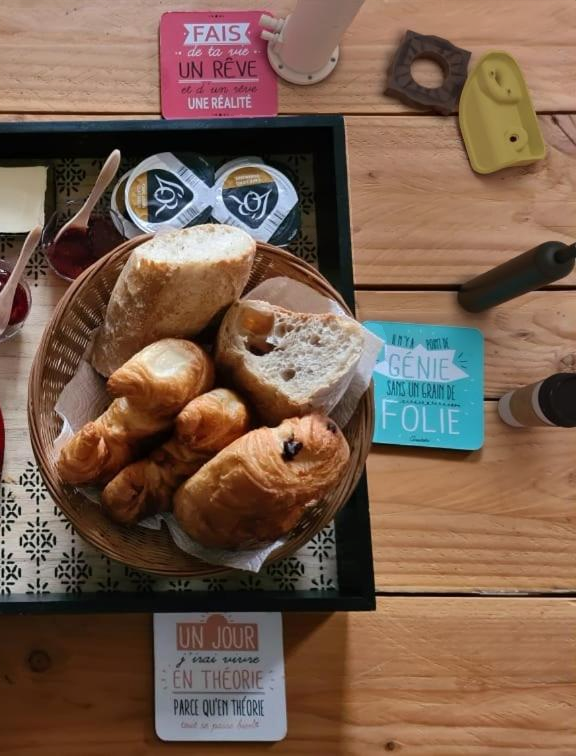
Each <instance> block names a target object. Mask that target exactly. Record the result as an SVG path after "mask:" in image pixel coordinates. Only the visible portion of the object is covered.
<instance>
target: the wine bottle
mask: <svg viewBox="0 0 576 756" xmlns="http://www.w3.org/2000/svg"><path fill="white" fill-rule="evenodd" d="M575 266H576V241H575V242H573V243H571V244H569V245H568V244H566V243H565V242H562V241H559V240H548V241H545V242H542V243H541V244H538V245H536V246H534V247H532V248H530V249H529V250H527V251H524V252H522V253H521V254H518V255H517V256H515V257H513V258H511V259H509V260H507V261H505V262H502V263H501V264H499V265H497V266H495V267H493V268H491V269H489V270H487V271H485V272H483V273H481V274H479V275H477V276H475V277H473V278H471V279H470V280H467V281H465V282H464V283H462V284H461V285H460V286H459V288H458V291H457V301H458V304H459V305H460V307H461V308H462V309H463V310H464V311H466V312H467V313H471V314H481V313H484V312H486V311H489V310H490V309H492V308H495V307H498V306H500V305H503V304H504V303H507V302H509V301H512V300H515V299H517V298H519V297H522V296H524V295H527V294H529V293H531V292H534V291H536V290H538V289H541V288H543V287H545V286H549V285H550V284H553V283H555V282H557V281H560V280H562V279H564V278H567V277H568V276H569V275H570V274H571V273H572V272H573V270H574V268H575Z"/></svg>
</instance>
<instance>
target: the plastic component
mask: <svg viewBox="0 0 576 756" xmlns="http://www.w3.org/2000/svg"><path fill="white" fill-rule="evenodd" d="M458 121H459V129H460V131H461V135H462V138H463V141H464V145H465V148H466V151H467V155H468V159H469V163H470V165H471V168H472V169H473V171H475V172H476V173H479V174H484V175H485V174H492V173H494V172H496V171H499V170H502V169H506V168H510V167H522V166H523V167H524V166H528V165H531V164H533V163H535V162H538V161H540V160H543V159H544V158H545V157H546V155H547V147H546V143H545V140H544V136H543V132H542V129H541V126H540V123H539V120H538V116H537V113H536V110H535V106H534V103H533V100H532V96H531V93H530V89H529V87H528V84H527V80H526V78H525V74H524V72H523V70H522V68H521V66H520V64H519V62H518V60H517V59H516V58H515V57H514V55H512V54H511V53H510V52H509V51H506V50H504V49H488V50H486V51H485V52H484V53H483V54H482V55H480V57H479V58H478V60H477V61H476V63H474V65H473V67H472V68H471V70H470V72H469V73H468V78H467V80H466V82H465V85H464V88H463V91H462V92H461V93H460V99H459V104H458ZM511 138H515V141H511Z"/></svg>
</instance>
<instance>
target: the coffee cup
mask: <svg viewBox="0 0 576 756" xmlns="http://www.w3.org/2000/svg"><path fill="white" fill-rule="evenodd" d="M497 411H498V414H499V417H500V419H501V420H502V421H503V422H504V423H506V424H507V425H509V426H511V427H519V428H521V427H522V428H523V427H531V428H533V427H534V428H564V429H572V428H576V372H569V371H568V372H567V371H565V372H557V373H554V374H551V375H549V376H548V377H545V378H543V379H541V380H538V381H536V382H535V381H534V382H532V383H530V384H527V385H525V386H522V387H520V388H517V389H514V390H512V391H509V392H506V393H505V394H503V395H502V396H501V397H500V399H499V401H498V403H497Z"/></svg>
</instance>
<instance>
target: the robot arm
mask: <svg viewBox="0 0 576 756" xmlns="http://www.w3.org/2000/svg"><path fill="white" fill-rule="evenodd" d="M365 2H366V0H297V1H296V4H295V5H294V8H293V10H292V12H291V13H290V14H287V15H286V17H285V19H283V18H281V17H279V18H278V19H276V18H274V17H272V16H270V15H268V14H265V13H261V15H260V18H259V21H258V24H257V26H259V27H262V28H265V29H269V30H272V31H273V32H270V31H268V30H265V29H263V30H262V32H261V34H260V37H259V39H261V40H265V41H268V43H267V47H266V48H267V50H266V52H267V58H268V59H267V60H268V62H269V64H270V66H271V68H272V69H273V71H274V72H275V73H276V74H277V75H278V76H280V77H281V78H282V79H283V80H285V81H287V82H290V83H293V84H296V85H300V86H301V85H306V86H307V85H313V84H316V83H318V82H321V81H323V80H324V79H325V78H328V76H329V75H331V73H332V71H333V70H334V68H335V67H336V66H337V63H338V60H339V54H340V53H339V52H340V49H339V44H340V42H341V41H342V39H343V38H344V36H345V35H346V33H347V32H348V30H349V28H350V27H351V25H352V24H353V22H354V20H355V19H356V17H357V15H358V13H359V12H360V10H361V8H362V7H363V5H364V4H365Z"/></svg>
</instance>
